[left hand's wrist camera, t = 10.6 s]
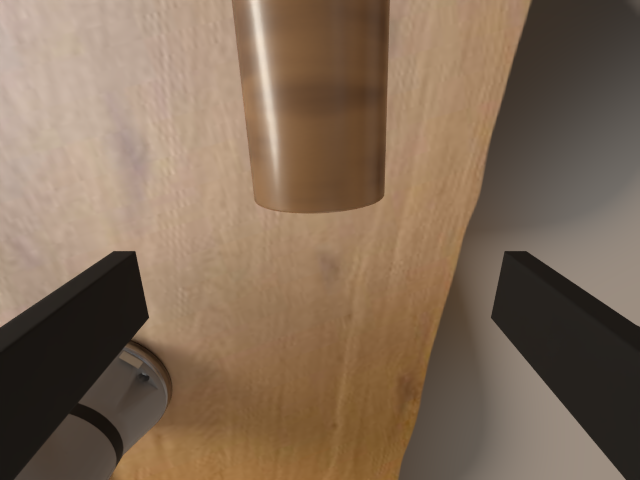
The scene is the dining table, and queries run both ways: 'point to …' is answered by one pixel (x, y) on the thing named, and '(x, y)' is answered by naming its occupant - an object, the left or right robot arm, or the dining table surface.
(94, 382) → the left robot arm
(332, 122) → the rod
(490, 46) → the dining table surface
